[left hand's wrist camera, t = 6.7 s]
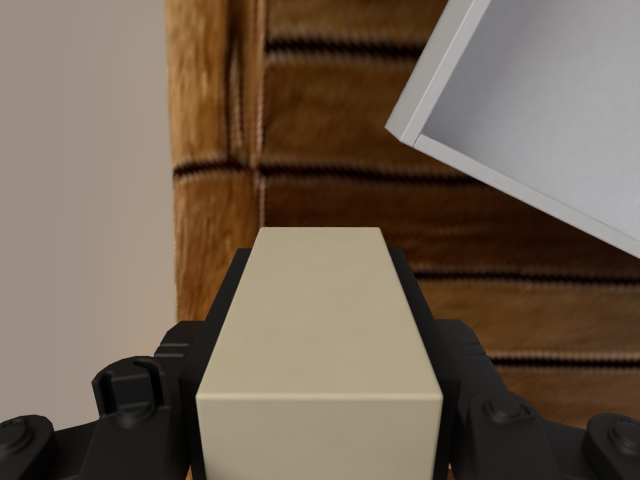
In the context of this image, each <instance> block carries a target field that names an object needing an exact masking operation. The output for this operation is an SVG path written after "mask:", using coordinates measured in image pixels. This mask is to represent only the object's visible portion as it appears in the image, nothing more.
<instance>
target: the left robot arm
mask: <svg viewBox="0 0 640 480" xmlns="http://www.w3.org/2000/svg"><path fill="white" fill-rule="evenodd" d="M252 249H253V248H238V250H237V252H236V254H235V256H234V258H233V261H232V263H231V265H230V267H229V269H228V271H227V274H226V276H225V278H224V280H223V282H222V285H221V287H220V289H219V291H218V293H217V295H216V298H215V300H214V302H213V304H212V306H211V308H210V311H209V313H208V315H207V317H206V319H205V321H180V322H179V323H178V324H176V325H175V326H174V327H172V328H171V329H170V330H169V331H167V333H166V335H165V336H164V338H163V340H162V341H161V343H160V346H159V347H158V348H157V350H156V352H155V353H154V357H150V356H134V357H130V358H125V359H121V360H119V361H117V362H114V363H112V364H110V365H108V366H107V367H105V368H104V369H103V370H101V371H100V372H99V373H98V374H97V375H96V377H95V378H94V379H93V381H92V387H93V391H94V395H95V399H96V403H97V407H98V412H99V416H100V417H99V420H97V421H94V422H91V423H87V424H84V425H80V426H75V427H71V428H67V429H63V430H58V431H54V428H53V425H52V423H51V422H50V421H49V420H48V419H47V418H46V417H44V416H39V415H26V416H19V417H16V418H13V419H10V420H7V421H4V422H2V423H0V480H185V479H186V476H187V473H188V470H189V467H190V464H191V471H192V478H193V480H207V479H206V471H205V463H204V456H203V448H202V441H201V433H200V426H199V418H198V411H197V403H196V394H197V392H198V389H199V387H200V384H201V381H202V379H203V376H204V374H205V371H206V368H207V366H208V363H209V361H210V358H211V355H212V353H213V350H214V348H215V345H216V342H217V340H218V337H219V335H220V332H221V329H222V327H223V324H224V322H225V319H226V316H227V314H228V311H229V309H230V306H231V303H232V301H233V298H234V296H235V293H236V290H237V288H238V285H239V283H240V280H241V277H242V275H243V272H244V270H245V267H246V264H247V262H248V259H249V257H250V254H251V251H252ZM387 249H388V251H389V254H390V257H391V259H392V262H393V265H394V267H395V270H396V273H397V275H398V278H399V281H400V283H401V286H402V289H403V291H404V294H405V296H406V299H407V302H408V304H409V307H410V310H411V312H412V315H413V318H414V320H415V323H416V326H417V328H418V331H419V333H420V336H421V339H422V341H423V344H424V347H425V349H426V352H427V355H428V357H429V360H430V363H431V365H432V368H433V371H434V373H435V376H436V378H437V381H438V384H439V386H440V389H441V392H442V394H443V405H442V412H441V420H440V427H439V435H438V442H437V450H436V457H435V465H434V472H433V480H447V476H448V469H449V463H450V466H451V469H452V472H453V475H454V478H455V480H640V421H638V420H636V419H633V418H630V417H627V416H624V415H621V414H612V413H602V414H597V415H594V416H593V417H592V418H591V419H590V420H589V421H588V424H587V427H586V430H585V429H581V428H576V427H572V426H568V425H563V424H559V423H555V422H552V421H549V420H545V419H543V418H541V417H540V415H539V413H538V412H537V410H536V409H535V407H534V406H533V405H532V404H531V403H529V402H528V401H527V400H526V399H525V398H523V397H521V396H519V395H517V394H515V393H513V392H510V391H508V389H507V388H506V386H505V384H504V382H503V381H502V379H501V377H500V376H499V374H498V372H497V371H496V369H495V367H494V366H493V364H492V362H491V360H490V359H489V357H488V355H486V352H485V350H484V349H483V347H482V345H480V342H479V340H478V338H477V337H476V335H475V333H474V332H473V330H472V329H470V328H469V327H468V326H467V325H465V324H464V323H463V322H461V321H460V320H434V318H433V315H432V313H431V311H430V309H429V307H428V305H427V302H426V300H425V298H424V296H423V294H422V292H421V289H420V287H419V285H418V283H417V281H416V279H415V276H414V274H413V272H412V270H411V268H410V266H409V263H408V261H407V259H406V257H405V255H404V253H403V250H402V248H387Z"/></svg>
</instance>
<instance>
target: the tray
mask: <svg viewBox="0 0 640 480" xmlns="http://www.w3.org/2000/svg"><path fill="white" fill-rule="evenodd" d="M385 128H386V129H387V130H388V131H389V132H390V133H391V134H393V135H394V136H395V137H396V138H397V139H398V140H399V141H400V142H402V143H404V144H406V145H408V146H410V147H413V148H415V149H417V150H419V151H421V152H423V153H425V154H427V155H429V156H431V157H433V158H435V159H437V160H439V161H441V162H443V163H445V164H447V165H449V166H451V167H453V168H455V169H457V170H459V171H462V172H464V173H466V174H468V175H470V176H472V177H474V178H476V179H478V180H480V181H482V182H484V183H486V184H488V185H490V186H492V187H494V188H496V189H498V190H500V191H502V192H504V193H506V194H508V195H511V196H513V197H515V198H517V199H519V200H521V201H523V202H525V203H527V204H529V205H531V206H533V207H535V208H537V209H539V210H541V211H543V212H545V213H547V214H549V215H551V216H553V217H555V218H558V219H560V220H562V221H564V222H566V223H568V224H570V225H572V226H574V227H576V228H578V229H580V230H582V231H584V232H586V233H588V234H590V235H592V236H594V237H596V238H598V239H600V240H602V241H605V242H607V243H609V244H611V245H613V246H615V247H617V248H619V249H621V250H623V251H625V252H627V253H629V254H631V255H633V256H635V257H637V258H639V259H640V0H449V1H448V3H447V5H446V7H445V9H444V11H443V13H442V15H441V17H440V19H439V21H438V23H437V25H436V27H435V29H434V31H433V33H432V35H431V37H430V39H429V40H428V42H427V44H426V46H425V48H424V50H423V52H422V54H421V56H420V58H419V60H418V62H417V64H416V66H415V68H414V70H413V72H412V74H411V76H410V78H409V80H408V82H407V84H406V86H405V88H404V90H403V92H402V94H401V96H400V98H399V100H398V102H397V104H396V105H395V107H394V109H393V111H392V113H391V115H390V117H389V119H388V121H387V123H386V125H385Z"/></svg>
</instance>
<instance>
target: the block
mask: <svg viewBox="0 0 640 480" xmlns="http://www.w3.org/2000/svg"><path fill="white" fill-rule="evenodd" d="M196 403H197V411H198V418H199V426H200V433H201V441H202V448H203V456H204V463H205V471H206V479H207V480H433V472H434V465H435V457H436V450H437V442H438V435H439V427H440V420H441V412H442V405H443V394H442V392H441V389H440V386H439V384H438V381H437V378H436V376H435V373H434V371H433V368H432V365H431V363H430V360H429V357H428V355H427V352H426V349H425V347H424V344H423V341H422V339H421V336H420V333H419V331H418V328H417V326H416V323H415V320H414V318H413V315H412V312H411V310H410V307H409V304H408V302H407V299H406V296H405V294H404V291H403V289H402V286H401V283H400V281H399V278H398V275H397V273H396V270H395V267H394V265H393V262H392V259H391V257H390V254H389V251H388V249H387V246H386V244H385V241H384V238H383V236H382V233H381V230H380V228H369V227H262V228H260V231H259V233H258V236H257V238H256V241H255V244H254V246H253V249H252V251H251V254H250V257H249V259H248V262H247V264H246V267H245V270H244V272H243V275H242V277H241V280H240V283H239V285H238V288H237V290H236V293H235V296H234V298H233V301H232V303H231V306H230V309H229V311H228V314H227V316H226V319H225V322H224V324H223V327H222V329H221V332H220V335H219V337H218V340H217V342H216V345H215V348H214V350H213V353H212V355H211V358H210V361H209V363H208V366H207V368H206V371H205V374H204V376H203V379H202V381H201V384H200V387H199V389H198V392H197V394H196Z"/></svg>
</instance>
